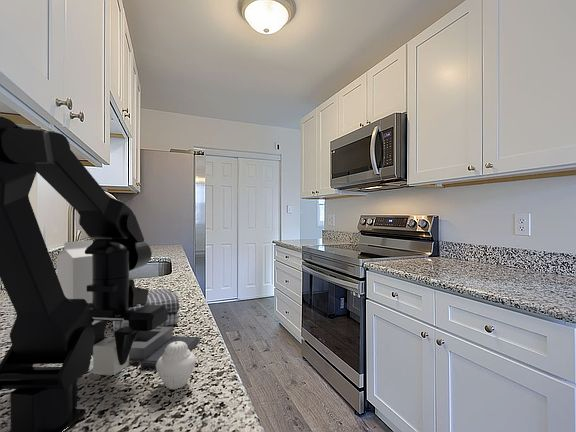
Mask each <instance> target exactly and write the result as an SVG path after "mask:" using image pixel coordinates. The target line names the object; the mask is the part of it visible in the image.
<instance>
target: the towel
mask: <svg viewBox="0 0 576 432" xmlns="http://www.w3.org/2000/svg"><path fill="white" fill-rule="evenodd" d="M146 305H164V306H165V308H166V309H167V311H168V320H167V321H165V322H164V323H162V324H161V325H159V326H160V327H169V326H172V325H176V324H179V323H180V322H179V320H180V319H179V316H180V314H179V311H180V308H181V307H180V301H179V298H178V295H177V294H176V293H175V292H172V291H171V289H170V288H163V289H151V290H149V292H148V297H147V303H146ZM144 306H145V305H140V304H137V306H136V307H134V308H129V310H133V311H136V310H138V309H140V308H142V307H144ZM115 316H116V315H115ZM118 316H120V315H118ZM122 324H123V321H112V328H113V333H114V332H115V331H116V330H118V329H120V328H122Z"/></svg>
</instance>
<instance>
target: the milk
mask: <svg viewBox="0 0 576 432" xmlns="http://www.w3.org/2000/svg"><path fill="white" fill-rule="evenodd" d="M93 241H94V240H93V239H88V240H77V241H65V242H64V246H63V247H64V249H63V250H62V251H61V252H60V253H58V255H57V256H56V274H57V277H58V279H59V282H60V285H61V287H62V290H63V293H64V295H65V297H66V298H68V299H85V301H86V302H87V303H92V292H87V285H91V284H92V254H85V250H86V249H87V247H89V246H90V245H91V244H92V243H93Z"/></svg>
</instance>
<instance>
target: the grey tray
mask: <svg viewBox="0 0 576 432" xmlns="http://www.w3.org/2000/svg"><path fill="white" fill-rule="evenodd" d="M173 330H174V327H173V326H162V327H160V326H158V327H156V328H155V329H153V330H150V331H138V333H137V335H136V337H135V339H134V341H133V344H132V346H131V349H130V352H129V361H140V362H142V361H143V360H144V359H146V358H147V357H148V356H149V355H151V354H152V353H153V352H154V351H156V350H157V349H158V348H159V347H161V346H162V345H163V344H164V343H166V342H167V341H168V340H169V339H171V338H172V337H173V336H174V332H173Z"/></svg>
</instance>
